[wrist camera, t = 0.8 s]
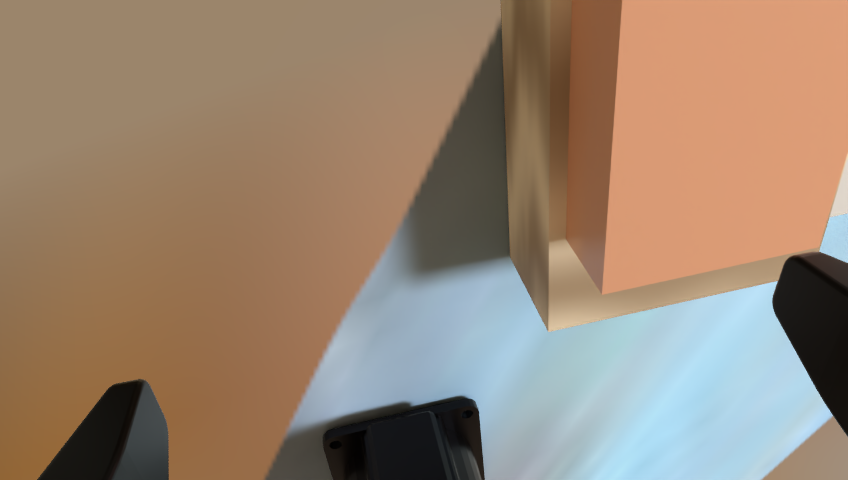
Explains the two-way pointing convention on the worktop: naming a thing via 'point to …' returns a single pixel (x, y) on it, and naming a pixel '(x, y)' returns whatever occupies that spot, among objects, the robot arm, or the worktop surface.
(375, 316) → the worktop surface
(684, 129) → the tile
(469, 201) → the worktop surface
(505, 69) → the board
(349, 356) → the worktop surface
